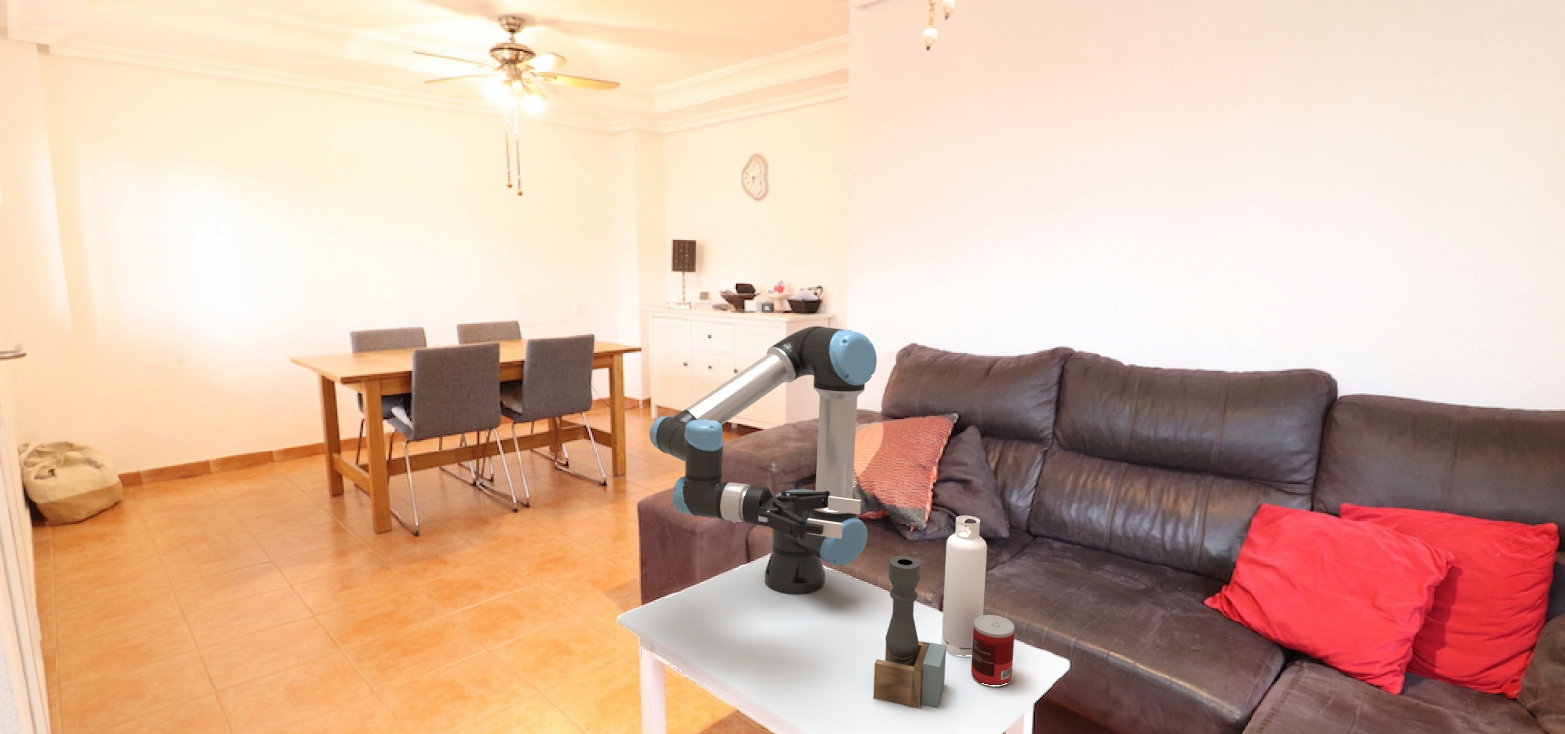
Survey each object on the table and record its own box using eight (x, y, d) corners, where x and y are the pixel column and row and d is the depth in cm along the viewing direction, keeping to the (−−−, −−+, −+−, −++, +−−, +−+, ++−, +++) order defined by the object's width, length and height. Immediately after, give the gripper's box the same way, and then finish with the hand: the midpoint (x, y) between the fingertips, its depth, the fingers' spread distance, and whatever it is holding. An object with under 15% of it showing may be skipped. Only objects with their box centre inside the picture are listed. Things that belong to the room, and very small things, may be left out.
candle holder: (916, 698, 136) (921, 570, 133) (882, 693, 138) (887, 567, 134) (916, 679, 142) (922, 557, 139) (884, 675, 144) (889, 554, 140)
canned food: (1010, 668, 147) (1014, 617, 145) (1012, 691, 139) (1015, 637, 137) (971, 662, 149) (974, 611, 147) (970, 684, 141) (973, 631, 140)
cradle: (873, 697, 136) (874, 662, 135) (886, 667, 147) (887, 634, 145) (919, 708, 133) (920, 672, 132) (929, 676, 144) (930, 643, 143)
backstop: (921, 704, 135) (923, 663, 134) (928, 680, 142) (930, 642, 141) (937, 707, 134) (939, 666, 132) (944, 684, 141) (946, 645, 140)
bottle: (935, 648, 154) (941, 520, 150) (951, 633, 160) (957, 510, 156) (971, 661, 149) (979, 529, 145) (986, 645, 156) (994, 518, 151)
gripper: (770, 502, 159) (866, 515, 151) (721, 544, 135) (832, 562, 128) (770, 468, 157) (867, 480, 150) (721, 505, 134) (833, 521, 127)
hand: (851, 518), depth 139 cm, fingers open, 13 cm apart
